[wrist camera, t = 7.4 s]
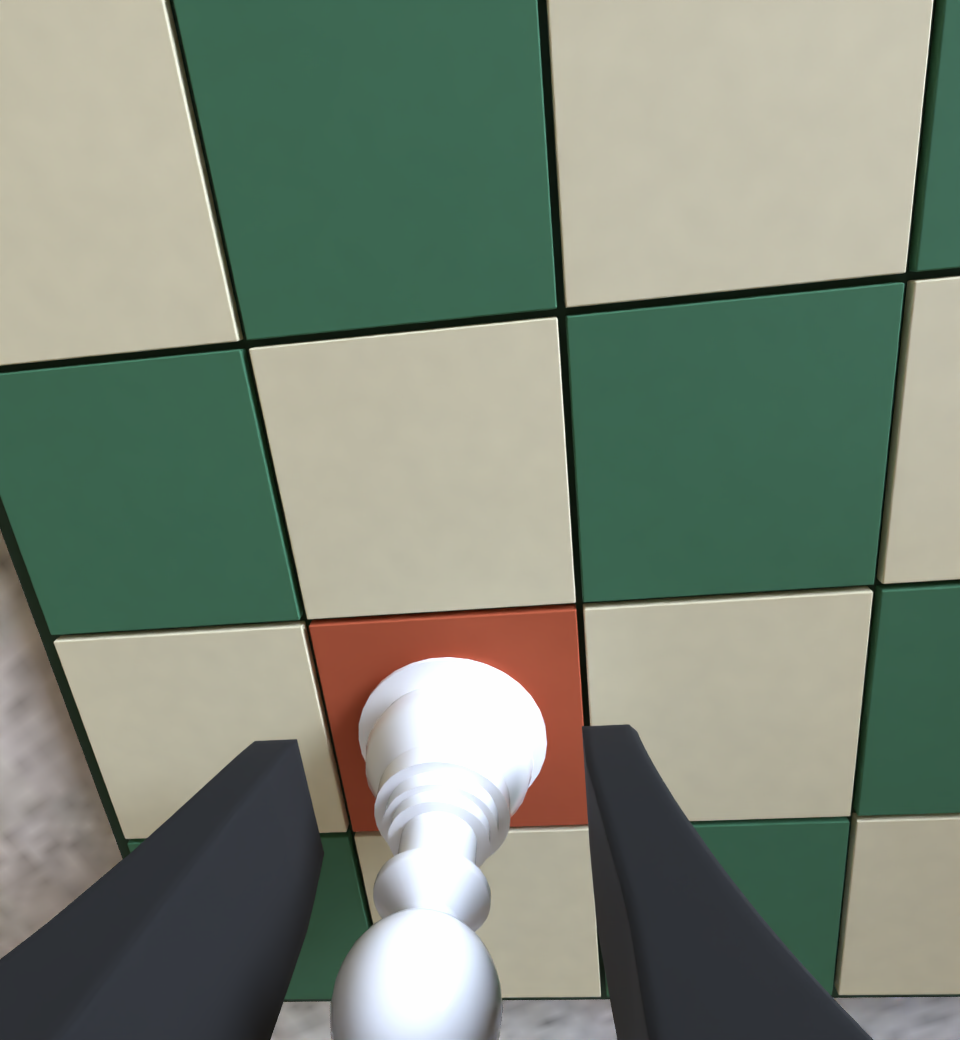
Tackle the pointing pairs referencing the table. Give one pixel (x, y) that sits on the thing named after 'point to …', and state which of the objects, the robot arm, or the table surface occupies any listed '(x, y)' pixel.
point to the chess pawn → (436, 848)
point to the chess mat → (506, 427)
